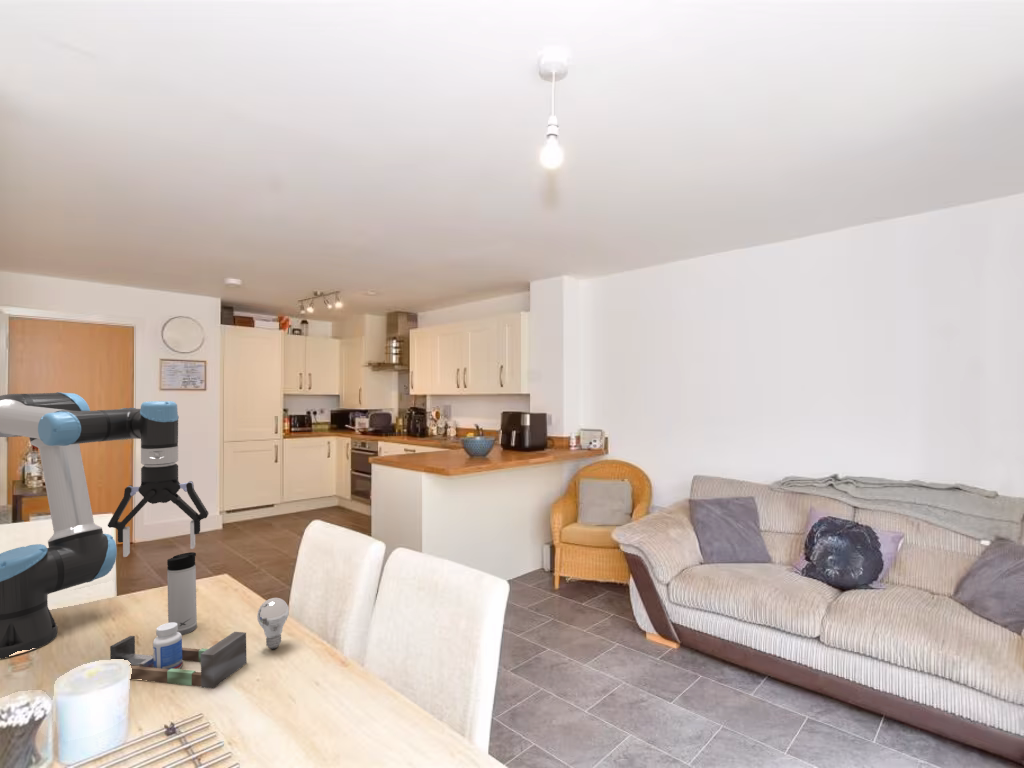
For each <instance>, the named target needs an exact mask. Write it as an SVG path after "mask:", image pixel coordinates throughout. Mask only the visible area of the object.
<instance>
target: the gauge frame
mask: <svg viewBox="0 0 1024 768" xmlns="http://www.w3.org/2000/svg"><path fill="white" fill-rule="evenodd" d="M182 659H183V662H186V661H187V662H195V663H200V671H196V670H191V669H184V668H183V669H182V668H180V669H172V668H171V669H161V668H154V667H152V668H150V667H140V666H137V665H130V666H131V668H132V674H131V679H130V680H132V679H142V680H147V681H146V682H151V681H155V682H154V683H160V684H161V683H163V684H172V685H181V686H191V687H192V686H193V687H201V688H204V687H205V688H206V689H215V688H216V687H217V686H219V685H220V684H222V683H223V682H224V681H225V680H227V679H228V678H230V677H231V676H232V675H233V674H235V673H236V672H237V671H238V670H240V669H241V668H242V667H244V666H245V665H246V664H247V663H248V662H247V660H248V659H247V632H245V631H244V632H243V631H234V632H231V633H230V634H229V635H227V636H226V637H223V639H221V640H220V641H218V642H217V643H215V644H213V645H212V646H211V647H209V648H191V647H190V648H189V647H188V648H187V647H182ZM243 665H244V666H243ZM239 668H240V669H239ZM230 675H231V676H230ZM205 688H204V689H205Z"/></svg>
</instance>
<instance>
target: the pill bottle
mask: <svg viewBox="0 0 1024 768" xmlns="http://www.w3.org/2000/svg"><path fill="white" fill-rule="evenodd" d="M177 630H178V625H177V623H175V622H171V623H168V622H166V623H163V624H161V625H158V626H157V627H156V630H155V632H156V637H155V638H154V639H153V641H152V642H153V643H152V652H153V655H152V656H153V658H154V667H153V668H161V669H171V668H172V669H182V667H183V662H184V661H183V659H182V648H183V638H182V637H183V635H181V633H179V632H177Z"/></svg>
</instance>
